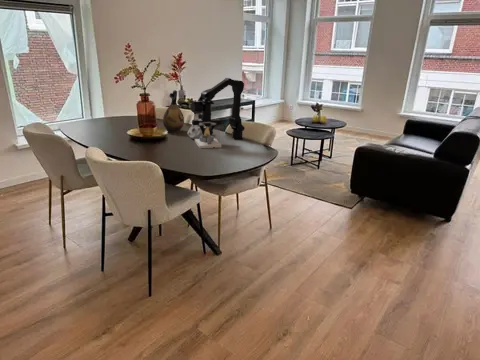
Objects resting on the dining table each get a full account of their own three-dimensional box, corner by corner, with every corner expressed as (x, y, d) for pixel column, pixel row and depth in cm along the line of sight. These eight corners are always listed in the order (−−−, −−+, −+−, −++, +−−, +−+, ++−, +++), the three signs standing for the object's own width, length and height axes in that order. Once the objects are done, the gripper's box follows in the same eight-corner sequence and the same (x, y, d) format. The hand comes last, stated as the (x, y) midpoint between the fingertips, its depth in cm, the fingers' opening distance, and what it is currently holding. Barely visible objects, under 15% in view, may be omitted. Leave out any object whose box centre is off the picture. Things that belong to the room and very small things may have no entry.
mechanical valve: (184, 134, 237) (195, 116, 240) (197, 146, 252) (207, 129, 255) (194, 138, 232) (205, 119, 234) (207, 150, 246) (218, 133, 249)
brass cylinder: (209, 138, 230) (209, 126, 227) (210, 139, 226) (210, 127, 223) (202, 138, 229) (202, 126, 226) (204, 140, 225) (204, 128, 222)
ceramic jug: (182, 134, 249) (181, 92, 239) (161, 133, 249) (159, 91, 239) (186, 129, 265) (185, 89, 255) (166, 128, 265) (164, 88, 255)
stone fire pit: (215, 140, 235) (215, 131, 233) (221, 147, 219) (221, 137, 217) (194, 141, 231) (194, 131, 229) (199, 148, 215) (199, 138, 213)
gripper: (217, 109, 231) (217, 131, 237) (190, 109, 226) (190, 132, 231) (221, 111, 221) (221, 135, 227) (193, 112, 216) (193, 136, 221)
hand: (206, 135), depth 227 cm, fingers closed on brass cylinder, 4 cm apart
